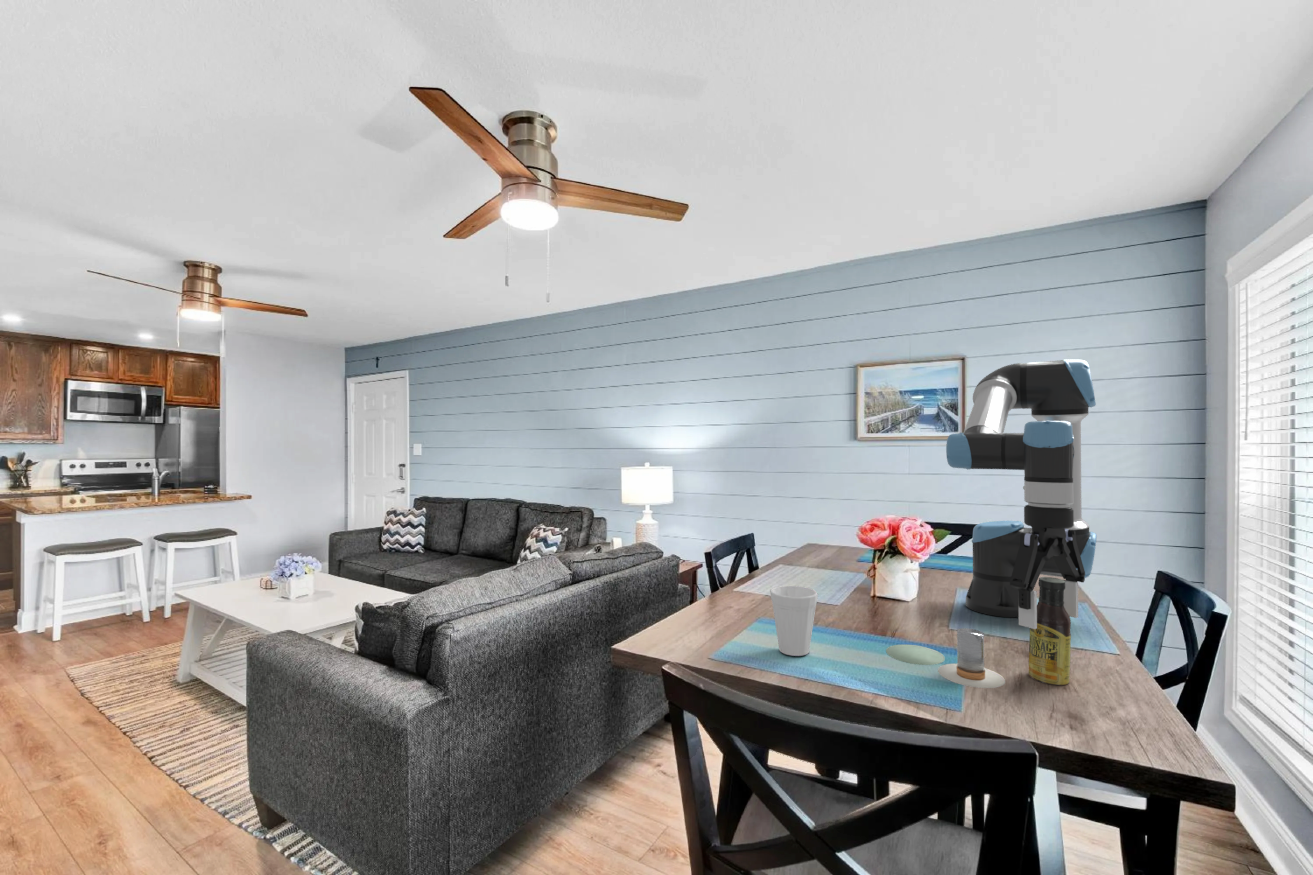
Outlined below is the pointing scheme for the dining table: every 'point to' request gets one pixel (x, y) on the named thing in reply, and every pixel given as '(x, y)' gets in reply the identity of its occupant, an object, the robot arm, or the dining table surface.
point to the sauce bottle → (1050, 635)
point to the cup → (794, 618)
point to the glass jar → (970, 654)
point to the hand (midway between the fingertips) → (1049, 621)
